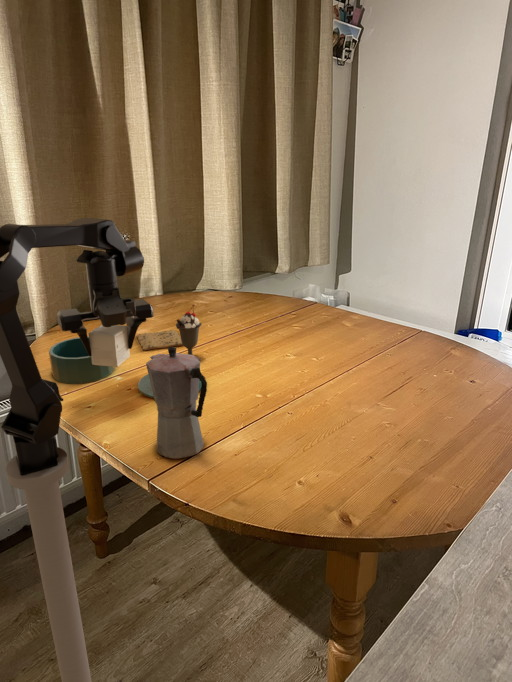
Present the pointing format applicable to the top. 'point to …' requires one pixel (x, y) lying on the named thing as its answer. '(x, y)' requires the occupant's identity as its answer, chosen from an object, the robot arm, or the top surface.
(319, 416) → the top surface
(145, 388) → the lid
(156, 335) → the cookie
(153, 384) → the moka pot
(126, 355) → the product box
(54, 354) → the pot
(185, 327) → the sundae
